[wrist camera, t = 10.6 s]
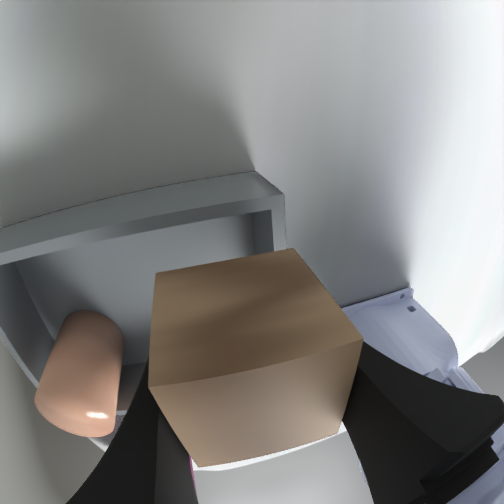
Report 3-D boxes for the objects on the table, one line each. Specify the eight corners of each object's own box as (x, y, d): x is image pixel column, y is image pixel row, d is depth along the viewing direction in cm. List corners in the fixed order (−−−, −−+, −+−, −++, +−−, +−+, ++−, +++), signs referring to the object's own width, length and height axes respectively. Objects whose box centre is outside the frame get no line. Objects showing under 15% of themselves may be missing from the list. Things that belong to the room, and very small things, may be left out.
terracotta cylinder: (114, 307, 18) (95, 389, 12) (132, 360, 20) (126, 438, 14) (52, 311, 17) (19, 385, 11) (75, 362, 19) (58, 434, 13)
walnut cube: (293, 247, 11) (363, 338, 6) (293, 345, 13) (337, 433, 9) (155, 272, 10) (148, 387, 6) (185, 367, 12) (198, 467, 8)
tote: (255, 171, 17) (284, 194, 12) (269, 339, 23) (288, 386, 19) (1, 228, 14) (-38, 264, 10) (71, 370, 20) (61, 416, 16)
